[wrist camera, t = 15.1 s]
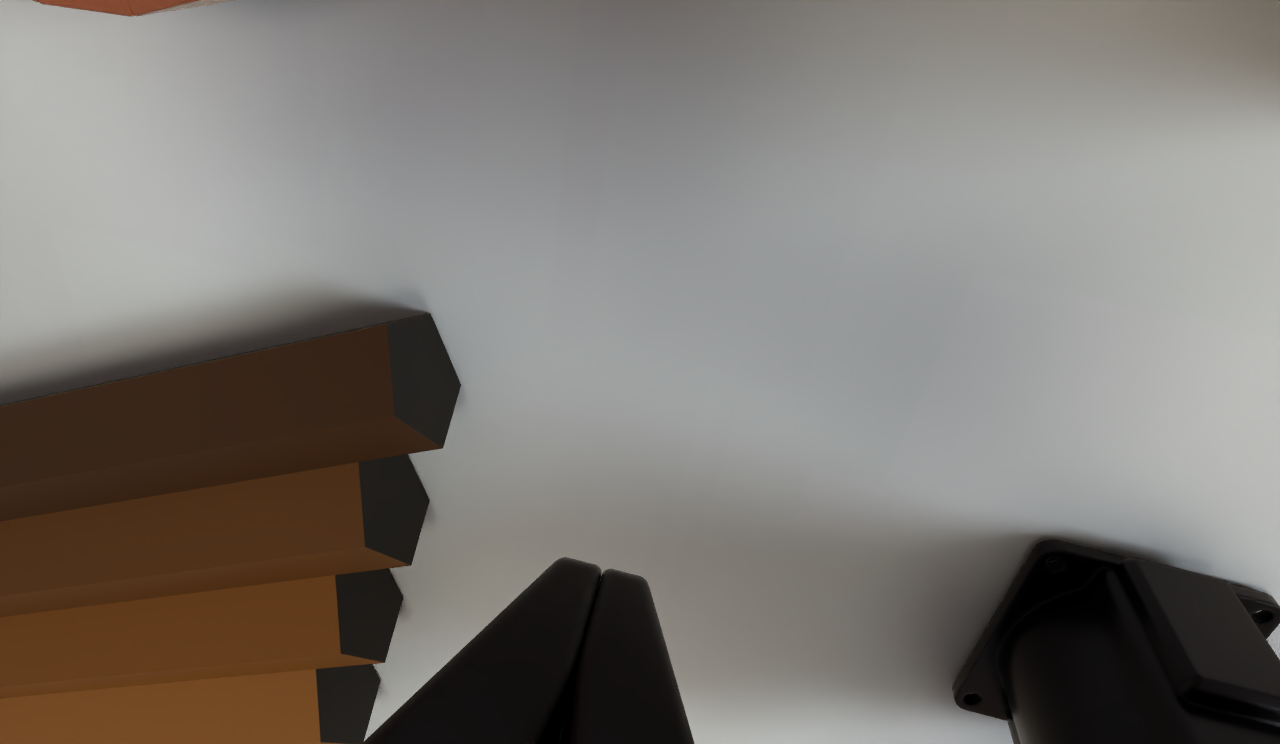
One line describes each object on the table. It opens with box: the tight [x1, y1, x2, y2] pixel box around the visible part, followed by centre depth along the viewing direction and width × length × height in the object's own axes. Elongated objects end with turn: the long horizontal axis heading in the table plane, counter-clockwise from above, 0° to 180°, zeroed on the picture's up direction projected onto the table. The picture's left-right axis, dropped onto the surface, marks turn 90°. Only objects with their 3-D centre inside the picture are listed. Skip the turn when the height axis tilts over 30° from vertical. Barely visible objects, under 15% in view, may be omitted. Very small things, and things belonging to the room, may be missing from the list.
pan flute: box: [0, 313, 461, 744], centre depth 29 cm, size 25×3×25 cm
